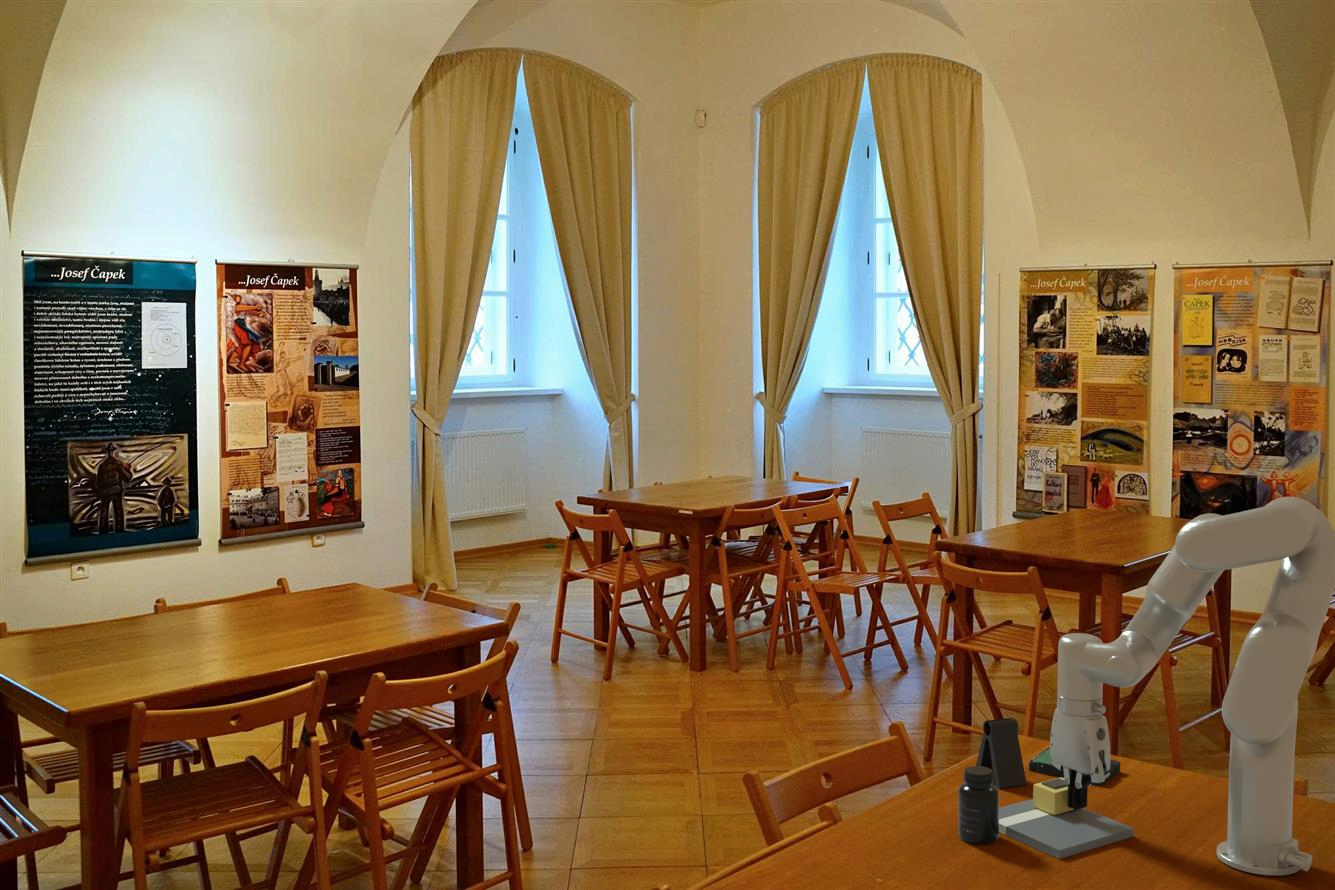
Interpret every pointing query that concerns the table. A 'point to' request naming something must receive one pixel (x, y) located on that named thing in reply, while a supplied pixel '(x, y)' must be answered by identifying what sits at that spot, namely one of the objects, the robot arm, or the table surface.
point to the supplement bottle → (978, 807)
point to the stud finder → (1051, 796)
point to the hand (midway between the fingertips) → (1077, 806)
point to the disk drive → (1045, 766)
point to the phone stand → (1002, 753)
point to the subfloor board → (1060, 829)
